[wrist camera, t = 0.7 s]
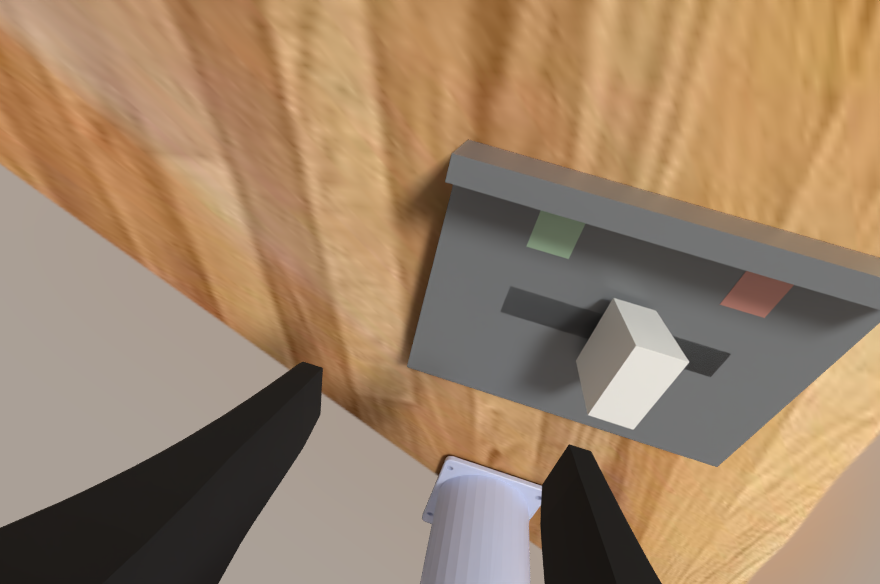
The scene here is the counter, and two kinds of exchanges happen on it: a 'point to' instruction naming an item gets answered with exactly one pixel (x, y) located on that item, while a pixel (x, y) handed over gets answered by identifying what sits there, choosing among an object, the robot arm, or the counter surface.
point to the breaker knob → (628, 364)
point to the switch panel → (632, 298)
